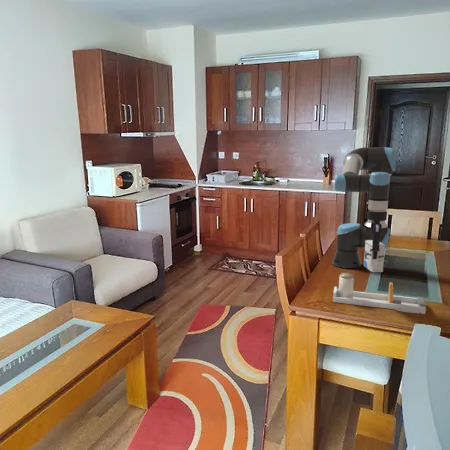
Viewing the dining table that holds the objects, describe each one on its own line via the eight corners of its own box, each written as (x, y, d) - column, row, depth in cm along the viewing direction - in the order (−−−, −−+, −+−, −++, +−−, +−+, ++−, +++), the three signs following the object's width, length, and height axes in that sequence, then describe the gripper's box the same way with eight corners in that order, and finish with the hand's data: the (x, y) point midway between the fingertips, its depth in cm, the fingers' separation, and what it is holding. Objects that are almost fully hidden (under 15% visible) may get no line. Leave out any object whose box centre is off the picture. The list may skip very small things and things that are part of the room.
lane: (334, 294, 179) (334, 285, 178) (421, 304, 168) (422, 294, 167) (332, 303, 170) (333, 293, 169) (425, 314, 158) (426, 304, 158)
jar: (338, 295, 176) (339, 271, 174) (352, 296, 175) (354, 273, 172) (337, 300, 171) (339, 276, 169) (352, 302, 169) (354, 277, 167)
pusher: (387, 300, 171) (389, 282, 169) (399, 301, 169) (401, 283, 167) (388, 306, 164) (390, 288, 162) (401, 308, 163) (403, 289, 161)
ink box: (362, 266, 171) (364, 239, 169) (373, 265, 172) (375, 239, 169) (371, 272, 163) (374, 244, 160) (383, 272, 163) (385, 244, 161)
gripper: (366, 205, 173) (363, 254, 178) (368, 214, 153) (364, 269, 157) (385, 206, 171) (380, 256, 176) (389, 215, 151) (384, 271, 155)
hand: (373, 262), depth 167 cm, fingers closed on ink box, 9 cm apart
